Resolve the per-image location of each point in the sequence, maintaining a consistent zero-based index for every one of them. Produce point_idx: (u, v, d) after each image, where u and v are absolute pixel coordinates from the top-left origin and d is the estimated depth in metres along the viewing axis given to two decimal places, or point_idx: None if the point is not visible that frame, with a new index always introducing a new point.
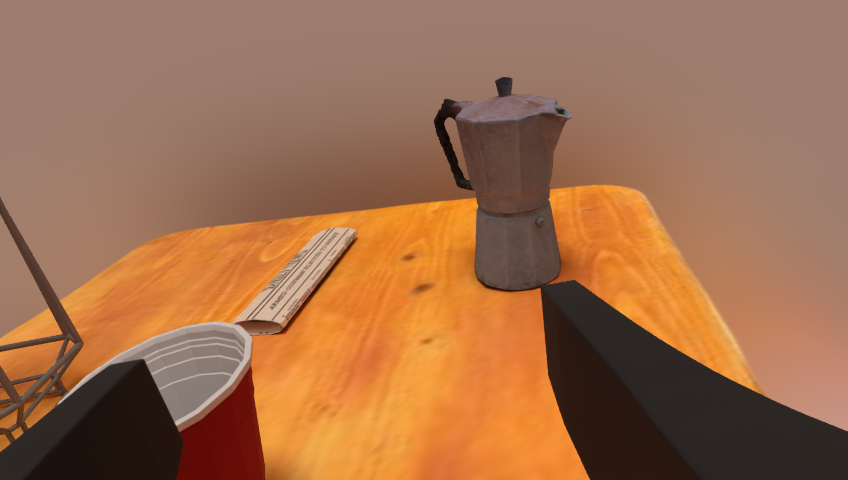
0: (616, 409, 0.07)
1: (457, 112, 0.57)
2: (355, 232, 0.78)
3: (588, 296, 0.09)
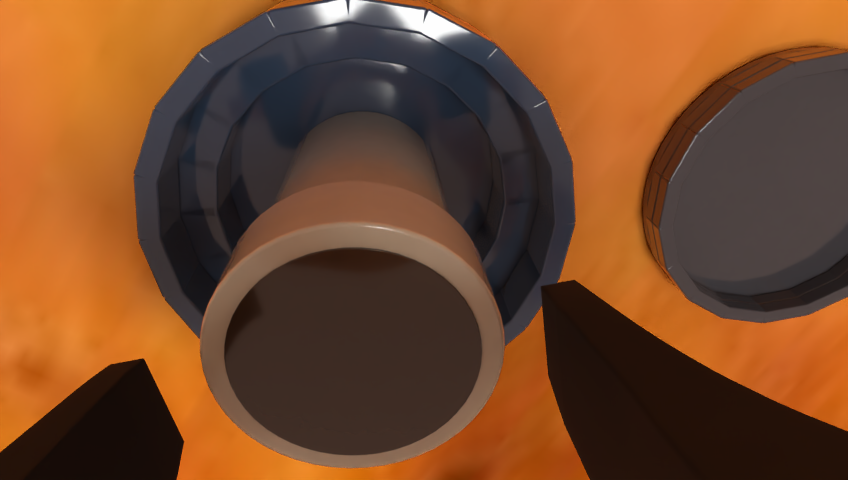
0: (616, 409, 0.07)
1: None
2: None
3: (588, 296, 0.09)
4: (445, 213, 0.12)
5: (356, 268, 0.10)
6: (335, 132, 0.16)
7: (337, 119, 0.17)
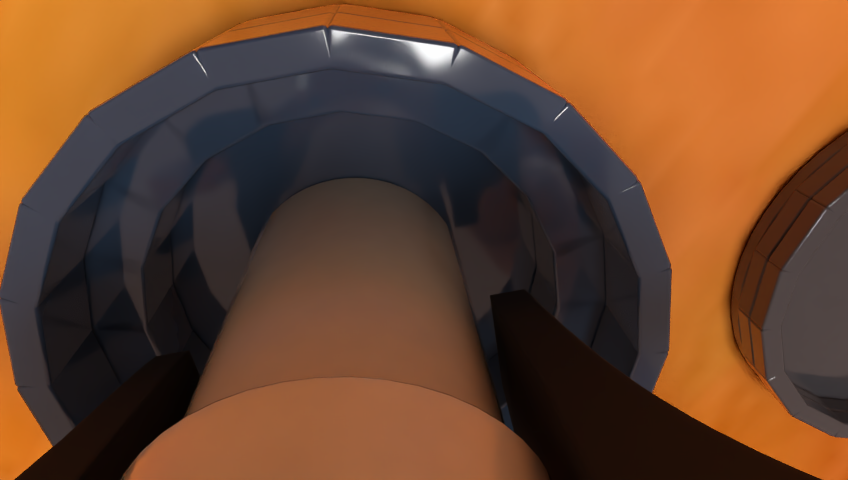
0: (546, 422, 0.07)
1: None
2: None
3: (532, 306, 0.09)
4: (497, 427, 0.06)
5: None
6: (313, 219, 0.11)
7: (318, 192, 0.12)
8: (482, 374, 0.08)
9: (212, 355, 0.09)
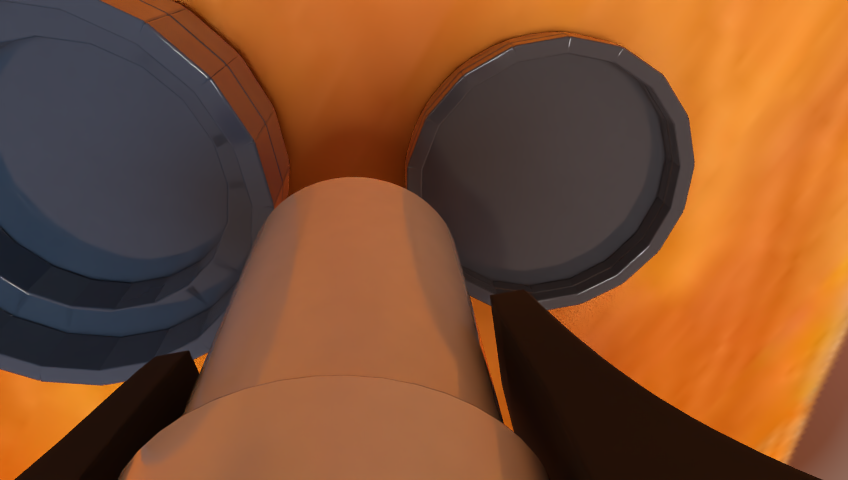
0: (546, 422, 0.07)
1: None
2: None
3: (532, 306, 0.09)
4: (495, 425, 0.06)
5: None
6: (312, 218, 0.11)
7: (317, 191, 0.12)
8: (481, 373, 0.08)
9: (210, 354, 0.09)
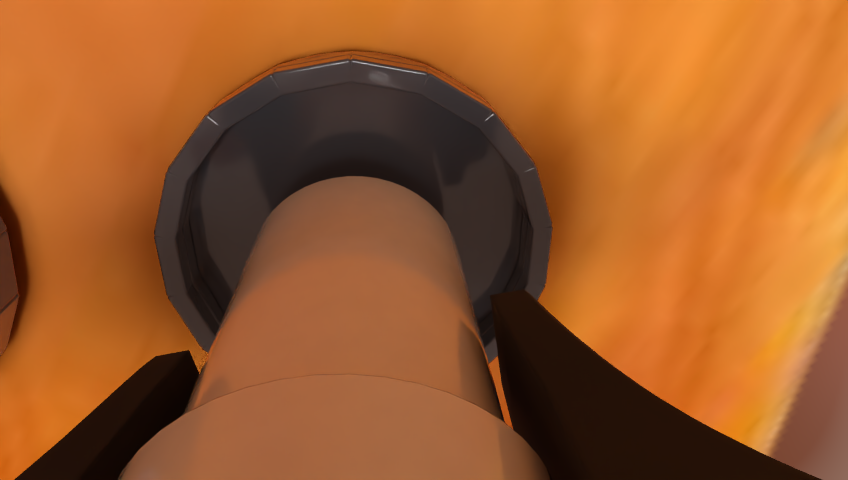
0: (546, 421, 0.07)
1: None
2: None
3: (532, 306, 0.09)
4: (496, 425, 0.06)
5: None
6: (312, 217, 0.11)
7: (318, 190, 0.12)
8: (482, 372, 0.08)
9: (211, 353, 0.09)
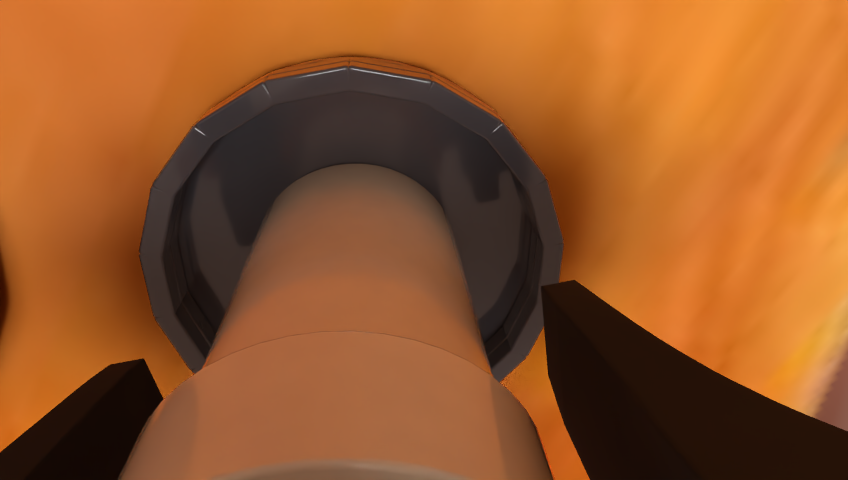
0: (616, 409, 0.07)
1: None
2: None
3: (588, 296, 0.09)
4: (486, 378, 0.07)
5: None
6: (316, 201, 0.11)
7: (321, 176, 0.13)
8: (475, 340, 0.09)
9: (223, 323, 0.09)
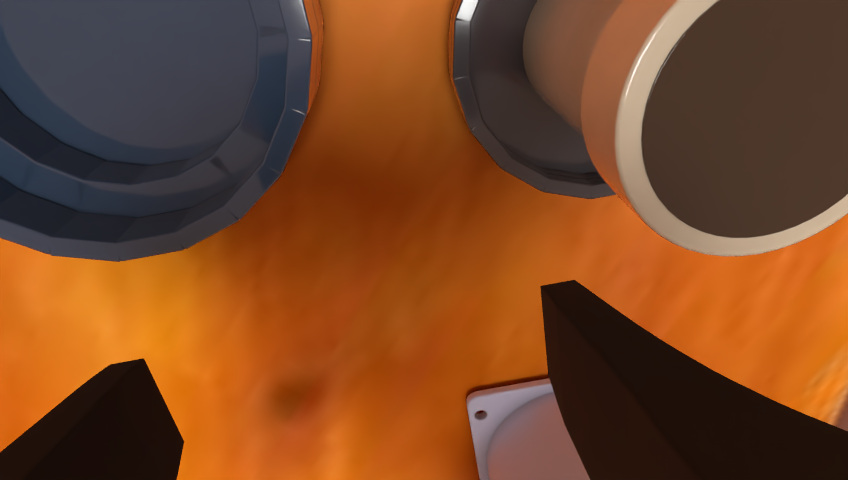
0: (616, 409, 0.07)
1: None
2: None
3: (588, 296, 0.09)
4: None
5: None
6: None
7: None
8: None
9: (595, 6, 0.13)
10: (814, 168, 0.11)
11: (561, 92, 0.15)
